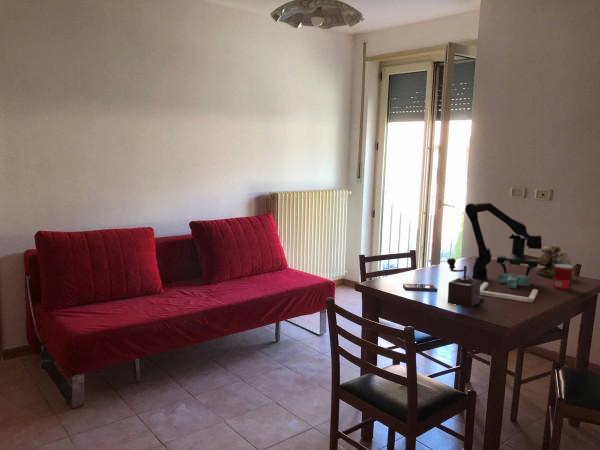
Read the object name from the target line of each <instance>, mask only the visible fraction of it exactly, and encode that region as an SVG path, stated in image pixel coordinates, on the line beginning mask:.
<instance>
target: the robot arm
mask: <svg viewBox="0 0 600 450" xmlns="http://www.w3.org/2000/svg"><path fill="white" fill-rule="evenodd" d="M464 209H465V210H464V211H465V213H466V216H467V217H468V219H469V222H470V223H471V226H472V227H471V228H472V231H473V234H474V238H475V242H476V245H477V248H478V257H476V258H475V259H474V265H473V269H472V276H471V279H472V278H473V279H478V280H479V279H480V280H485V279H487V278H488V275H489V269H488V264H490V263H491V262H492V257H493V254H492V252H491V248H490V247H489V246H488V247H487V246H486V243H485V239H484V236H483V233H482V229H481V225H480V222H479V216H478V215H479V214H478V213H481V212H489V213H491V214H492V215H493V216H495V217H496V218H497V219H499V220H500V221H502V222H503V223H505V225H506V226H507V227H509V229H511V231H512V232H514V233H515V234H514V233H511V235H509V236H508V238H509V239H511V240H512V244H511V245H512V246H511V247H512V248H511V254H510V257H509V258H508V257H507V255H506V256H505V255H498V257H497V258H496V263H498V264H499V265H501V267H502V268H503V269H502V270H503V273H507V274H508V263H510V265H513V266H515V265H516V266H521V265H527V267H526V271H525V272H526V273H525V276H529V274H530V272H531V270H532V269H535V268H538V266H539V264H538V260H539V259H533V258H529V259H528V260H526V255H525V247H528V249H530V250H531V249H533V250H542V245H543V244H542V235H533V234H532V235H531V234H530V233H529V232H528V231H527V227H526V225H525V223H523V222H521V221H519V220H517V219H515V218H512V217H511V216H509V215H508V214H506V213H505V212H504V211H502V210H501V209H499V208H498V207H496V206H495V205H494V204H493V203H492V202H483V203H482V202H481V203H474V202H468V203H467V204H466V206H465V208H464ZM521 236H522V237H521Z"/></svg>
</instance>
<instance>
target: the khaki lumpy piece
mask: <svg viewBox="0 0 600 450" xmlns="http://www.w3.org/2000/svg"><path fill="white" fill-rule="evenodd" d="M537 260H538V266H542V267H541V268H540V269H538V270H536V275H538V276H541V277H544V278H548V279H552V278H553V277H554V266H555V264H566V265H571V263H572V260H571V258H570V257H569V256H568V254H567V252H565V251H563V250H562V248H561V246H560V245H559V244H552V245H551V247H549V246H544V247H542V248H541V253H540V256H539V259H537Z"/></svg>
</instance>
